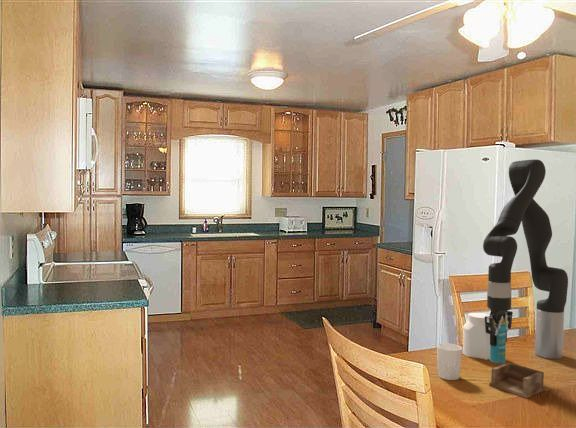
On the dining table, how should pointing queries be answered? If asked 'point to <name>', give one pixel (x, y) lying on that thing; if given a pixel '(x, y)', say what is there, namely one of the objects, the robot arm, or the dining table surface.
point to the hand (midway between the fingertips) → (498, 343)
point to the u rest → (517, 380)
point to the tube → (499, 344)
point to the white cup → (449, 361)
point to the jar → (476, 337)
